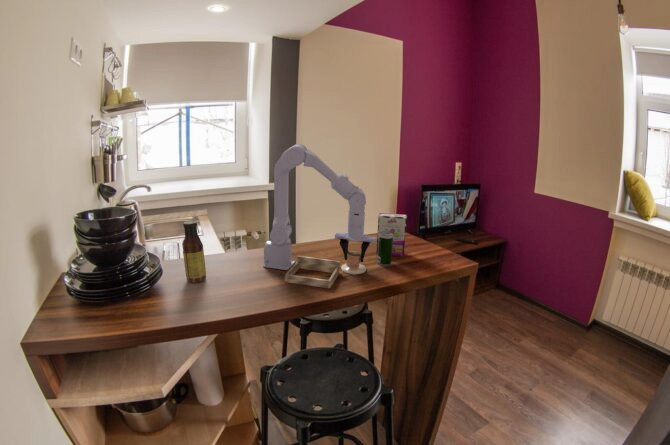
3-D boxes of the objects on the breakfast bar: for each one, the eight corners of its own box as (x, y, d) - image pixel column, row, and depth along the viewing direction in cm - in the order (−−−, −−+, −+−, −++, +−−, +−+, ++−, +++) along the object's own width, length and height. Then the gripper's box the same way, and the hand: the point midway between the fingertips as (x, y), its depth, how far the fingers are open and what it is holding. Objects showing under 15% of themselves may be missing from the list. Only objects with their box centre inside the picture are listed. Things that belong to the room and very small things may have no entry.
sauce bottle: (210, 278, 123) (206, 221, 117) (196, 285, 118) (191, 226, 112) (195, 274, 126) (191, 218, 120) (181, 281, 120) (175, 223, 115)
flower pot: (343, 266, 132) (345, 254, 130) (348, 261, 136) (349, 249, 135) (357, 269, 130) (359, 257, 129) (361, 264, 135) (363, 252, 133)
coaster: (338, 272, 131) (338, 270, 131) (344, 262, 139) (344, 261, 139) (363, 275, 129) (363, 274, 129) (367, 266, 137) (367, 264, 137)
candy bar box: (403, 252, 152) (407, 214, 147) (403, 257, 147) (407, 217, 142) (376, 250, 153) (379, 212, 148) (375, 254, 149) (378, 215, 144)
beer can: (383, 267, 136) (385, 236, 133) (374, 262, 141) (376, 232, 137) (394, 264, 139) (396, 234, 136) (384, 259, 144) (387, 230, 140)
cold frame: (284, 281, 122) (284, 269, 121) (297, 267, 134) (297, 255, 133) (329, 288, 119) (330, 275, 118) (339, 272, 131) (339, 261, 129)
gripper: (333, 225, 127) (331, 261, 131) (374, 229, 124) (372, 266, 128) (337, 219, 133) (336, 254, 137) (377, 223, 130) (375, 259, 134)
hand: (354, 260), depth 133 cm, fingers closed on flower pot, 5 cm apart
